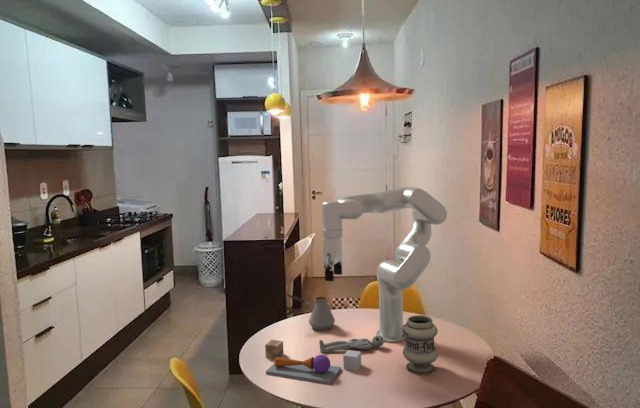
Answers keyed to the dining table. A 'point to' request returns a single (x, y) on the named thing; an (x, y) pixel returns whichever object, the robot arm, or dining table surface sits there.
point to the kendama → (307, 363)
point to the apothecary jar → (420, 344)
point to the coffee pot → (319, 313)
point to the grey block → (352, 360)
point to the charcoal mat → (305, 373)
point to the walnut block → (274, 349)
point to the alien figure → (351, 344)
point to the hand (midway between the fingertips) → (333, 277)
